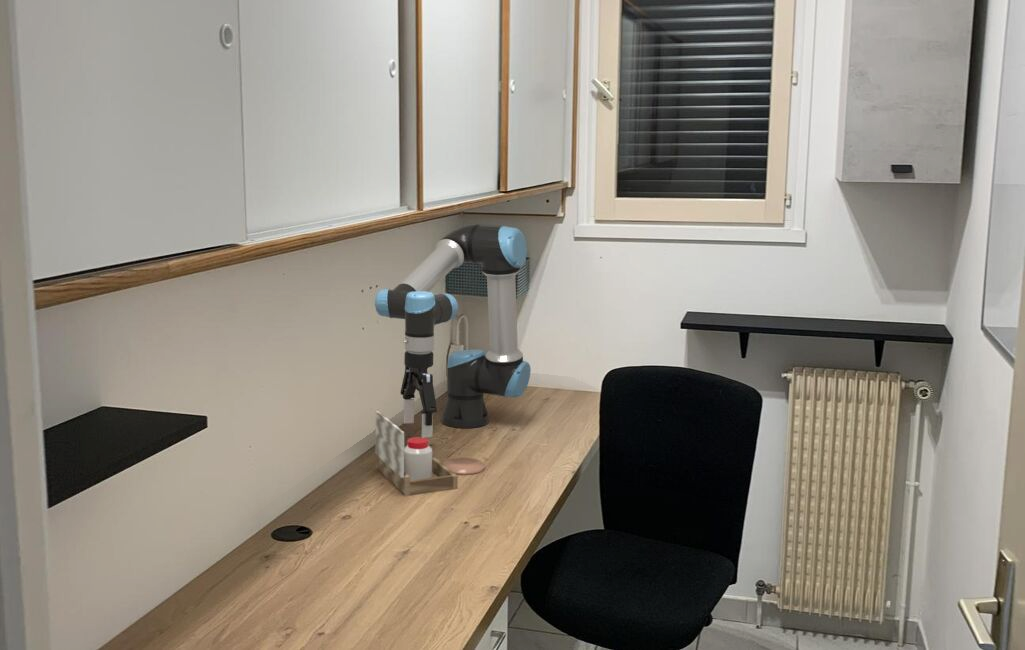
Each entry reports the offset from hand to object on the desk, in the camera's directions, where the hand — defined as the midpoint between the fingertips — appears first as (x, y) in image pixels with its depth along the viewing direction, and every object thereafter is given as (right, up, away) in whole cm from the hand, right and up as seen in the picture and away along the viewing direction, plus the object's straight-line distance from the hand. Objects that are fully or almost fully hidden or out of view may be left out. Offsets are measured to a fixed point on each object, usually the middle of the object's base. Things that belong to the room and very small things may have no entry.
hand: (417, 429), depth 258 cm
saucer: (+11, -12, +13) cm, 21 cm away
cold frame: (0, -14, +3) cm, 14 cm away
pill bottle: (0, -14, +3) cm, 14 cm away
